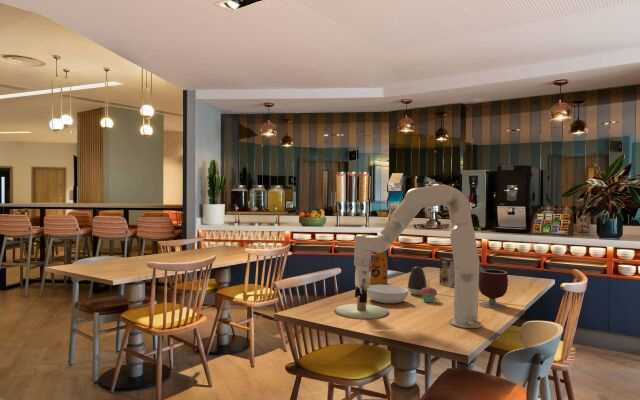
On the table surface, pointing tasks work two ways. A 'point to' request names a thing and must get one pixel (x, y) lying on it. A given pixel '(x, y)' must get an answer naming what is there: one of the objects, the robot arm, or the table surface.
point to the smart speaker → (416, 281)
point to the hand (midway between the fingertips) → (360, 299)
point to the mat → (362, 319)
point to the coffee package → (379, 269)
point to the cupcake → (428, 293)
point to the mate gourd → (492, 286)
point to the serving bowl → (387, 293)
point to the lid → (361, 310)
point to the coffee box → (447, 272)
